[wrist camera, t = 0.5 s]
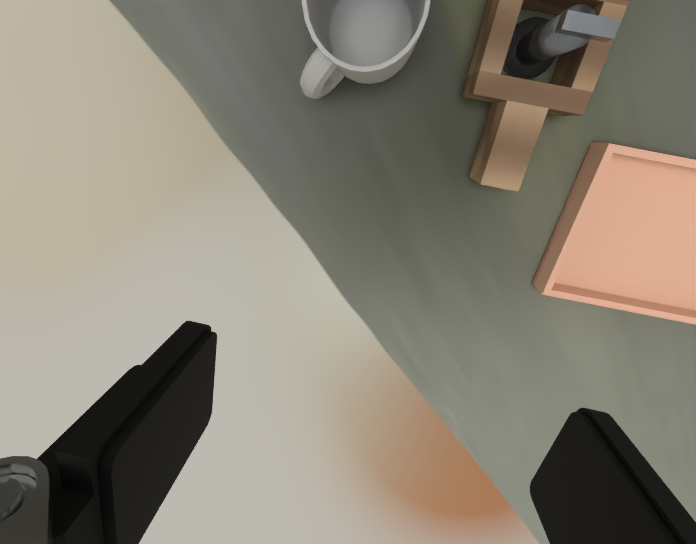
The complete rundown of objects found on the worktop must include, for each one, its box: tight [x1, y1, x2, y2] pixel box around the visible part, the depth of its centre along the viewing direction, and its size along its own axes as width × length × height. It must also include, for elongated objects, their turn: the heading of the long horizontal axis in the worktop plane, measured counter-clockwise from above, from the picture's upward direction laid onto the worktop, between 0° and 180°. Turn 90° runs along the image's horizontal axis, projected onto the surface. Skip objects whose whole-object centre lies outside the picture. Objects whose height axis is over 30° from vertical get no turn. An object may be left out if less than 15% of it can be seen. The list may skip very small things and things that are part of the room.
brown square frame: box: [462, 0, 630, 192], centre depth 27 cm, size 14×8×4 cm, turn 170°
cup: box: [300, 0, 430, 99], centre depth 25 cm, size 7×10×9 cm
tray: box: [532, 142, 696, 324], centre depth 31 cm, size 13×19×2 cm
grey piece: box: [503, 4, 622, 79], centre depth 24 cm, size 4×4×8 cm
